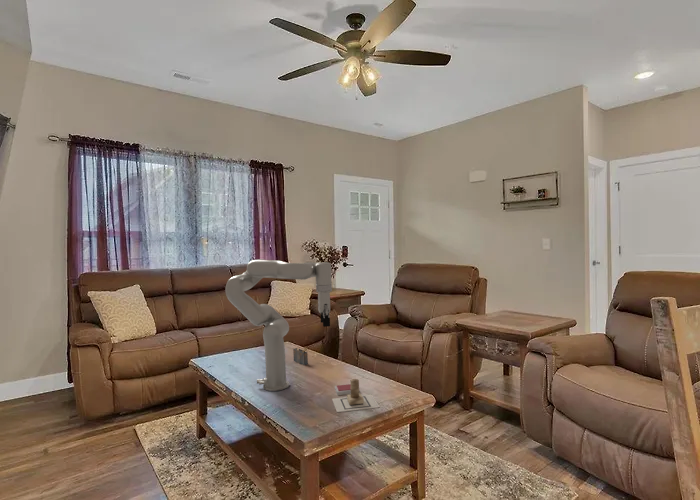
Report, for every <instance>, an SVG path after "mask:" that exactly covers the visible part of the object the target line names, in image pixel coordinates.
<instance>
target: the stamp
mask: <svg viewBox="0 0 700 500" xmlns="http://www.w3.org/2000/svg"><path fill="white" fill-rule="evenodd" d="M349 384H351V394H346V397H347V400H348V402H349V405H350V406H355V405H363V403H364V399H363V397H362V395H363V394H362V393H360V380H359V379H358V378H352V379H350V382H349Z"/></svg>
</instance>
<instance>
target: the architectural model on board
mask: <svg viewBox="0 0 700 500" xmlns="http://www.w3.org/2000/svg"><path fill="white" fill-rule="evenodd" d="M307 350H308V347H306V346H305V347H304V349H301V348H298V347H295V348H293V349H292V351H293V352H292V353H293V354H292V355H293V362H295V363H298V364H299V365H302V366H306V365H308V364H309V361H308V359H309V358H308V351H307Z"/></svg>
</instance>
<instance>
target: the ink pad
mask: <svg viewBox="0 0 700 500" xmlns="http://www.w3.org/2000/svg"><path fill="white" fill-rule="evenodd" d="M334 391H335V393H336V396H343V395H344V396H345V395H350V394H351V384H350V383H348V384H339V385H334Z"/></svg>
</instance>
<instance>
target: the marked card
mask: <svg viewBox="0 0 700 500" xmlns="http://www.w3.org/2000/svg"><path fill="white" fill-rule="evenodd" d="M361 395H362V397H363V399H364V403H363V405H355V406H350V405H349V402H348V400H347V396H345V397H335V398H331V400H332V403H333V406H334V408H335V410H336V413H338V414H339V413H344V412H345V413H346V412H353V411H363V410H370V409H371V410H372V409H379V408H380V405H379V404H378V402H377V401H376V399H375V397H374V396H373V393H372V394H364V395H363V394H361Z"/></svg>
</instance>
